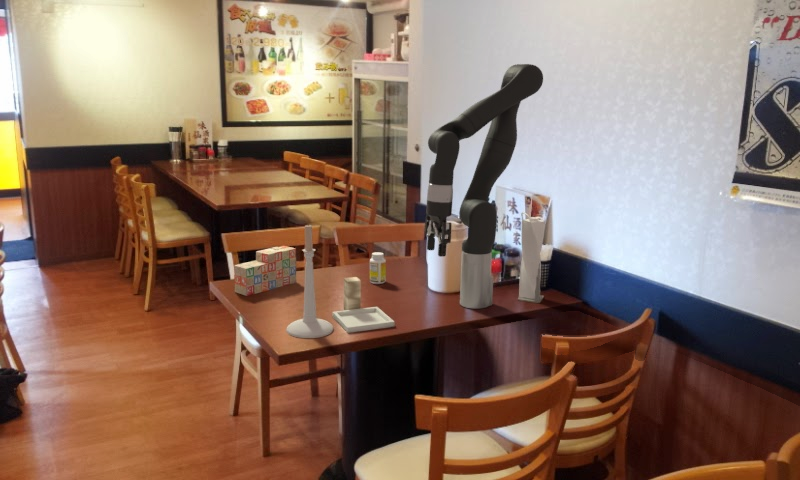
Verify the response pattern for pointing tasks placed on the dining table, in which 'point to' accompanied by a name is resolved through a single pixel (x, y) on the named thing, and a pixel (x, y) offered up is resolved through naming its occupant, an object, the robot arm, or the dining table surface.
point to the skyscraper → (531, 259)
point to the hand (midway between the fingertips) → (436, 253)
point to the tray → (363, 319)
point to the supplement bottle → (377, 268)
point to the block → (352, 293)
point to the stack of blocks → (266, 271)
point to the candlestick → (309, 300)
